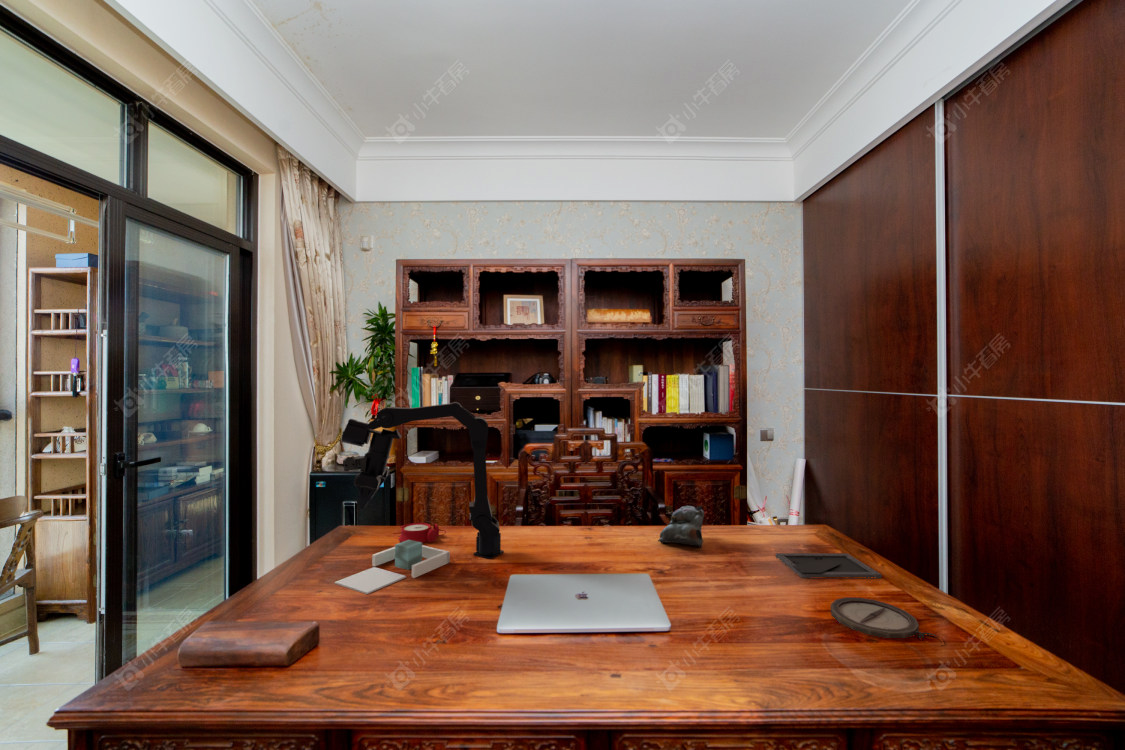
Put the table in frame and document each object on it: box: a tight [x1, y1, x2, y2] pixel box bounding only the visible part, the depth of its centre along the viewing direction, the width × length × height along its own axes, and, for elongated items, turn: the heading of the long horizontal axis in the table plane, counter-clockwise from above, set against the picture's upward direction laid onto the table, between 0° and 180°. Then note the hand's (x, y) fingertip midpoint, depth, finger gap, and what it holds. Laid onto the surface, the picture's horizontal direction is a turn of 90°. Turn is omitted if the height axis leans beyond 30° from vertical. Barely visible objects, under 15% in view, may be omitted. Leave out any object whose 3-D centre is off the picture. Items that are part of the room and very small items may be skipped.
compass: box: [830, 597, 939, 639], centre depth 112 cm, size 20×16×2 cm
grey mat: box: [334, 566, 407, 595], centre depth 133 cm, size 12×12×1 cm
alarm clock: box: [393, 522, 447, 544], centre depth 166 cm, size 10×6×15 cm
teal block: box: [394, 540, 423, 571], centre depth 143 cm, size 5×5×6 cm
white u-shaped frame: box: [371, 544, 451, 579], centre depth 144 cm, size 16×13×3 cm
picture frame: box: [775, 552, 882, 579], centre depth 145 cm, size 16×2×21 cm
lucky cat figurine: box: [657, 505, 705, 548], centre depth 164 cm, size 15×12×14 cm
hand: (364, 505), depth 147 cm, fingers open, 9 cm apart
